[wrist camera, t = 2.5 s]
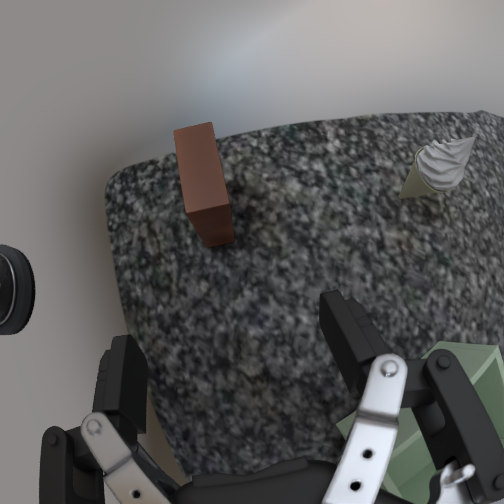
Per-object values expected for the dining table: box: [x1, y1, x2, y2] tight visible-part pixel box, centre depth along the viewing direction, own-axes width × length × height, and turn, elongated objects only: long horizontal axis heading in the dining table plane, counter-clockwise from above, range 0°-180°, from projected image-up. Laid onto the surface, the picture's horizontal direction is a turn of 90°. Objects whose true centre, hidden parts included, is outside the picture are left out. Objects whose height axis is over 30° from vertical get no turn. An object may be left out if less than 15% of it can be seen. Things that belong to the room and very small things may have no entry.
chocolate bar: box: [174, 122, 235, 248], centre depth 25 cm, size 3×7×11 cm, turn 13°
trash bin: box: [336, 341, 504, 504], centre depth 21 cm, size 16×16×10 cm
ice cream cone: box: [399, 136, 476, 199], centre depth 24 cm, size 5×5×15 cm
